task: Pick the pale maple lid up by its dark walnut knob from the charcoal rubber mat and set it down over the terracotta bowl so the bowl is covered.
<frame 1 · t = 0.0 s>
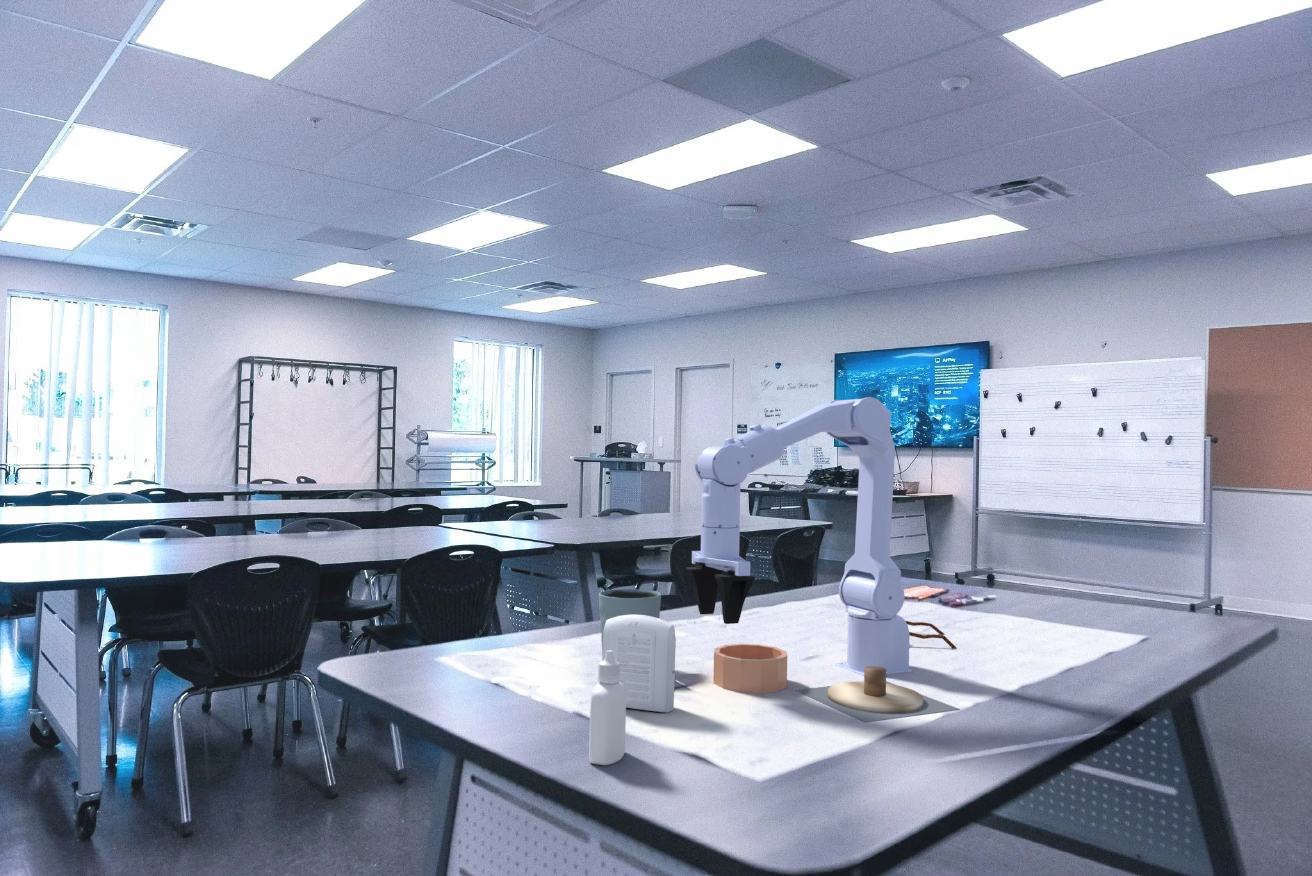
hand: (718, 618, 129), 10 cm above the table, fingers open, 7 cm apart
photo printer: (637, 708, 118), on the table
mat: (874, 702, 122), on the table
glasses: (915, 642, 166), on the table
bowl: (749, 685, 130), on the table
lid: (874, 699, 122), resting on mat
eye dropper bottle: (607, 759, 98), on the table
green plant pot: (628, 669, 139), on the table
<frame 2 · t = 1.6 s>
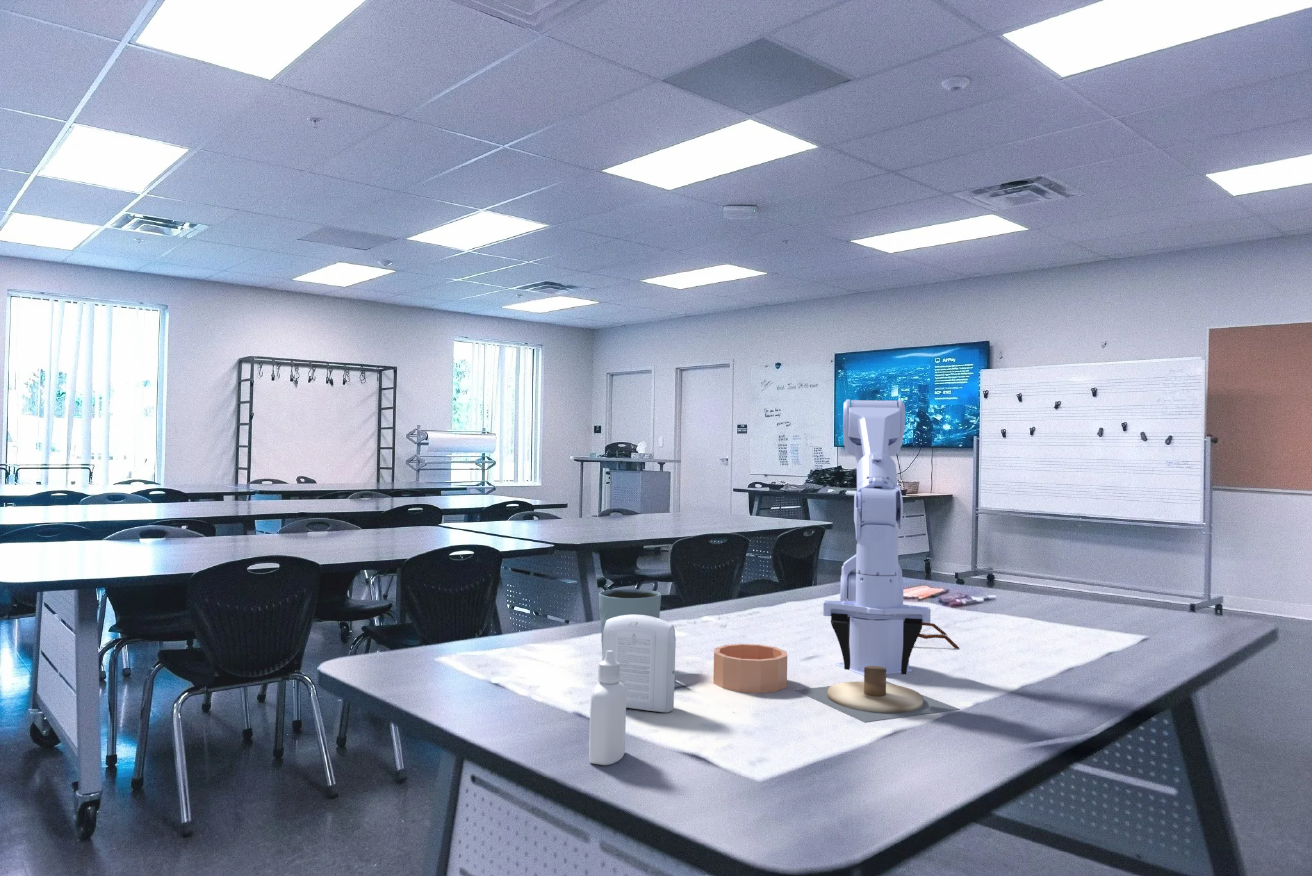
hand: (875, 670, 122), 5 cm above the table, fingers open, 7 cm apart
nothing on the table moved.
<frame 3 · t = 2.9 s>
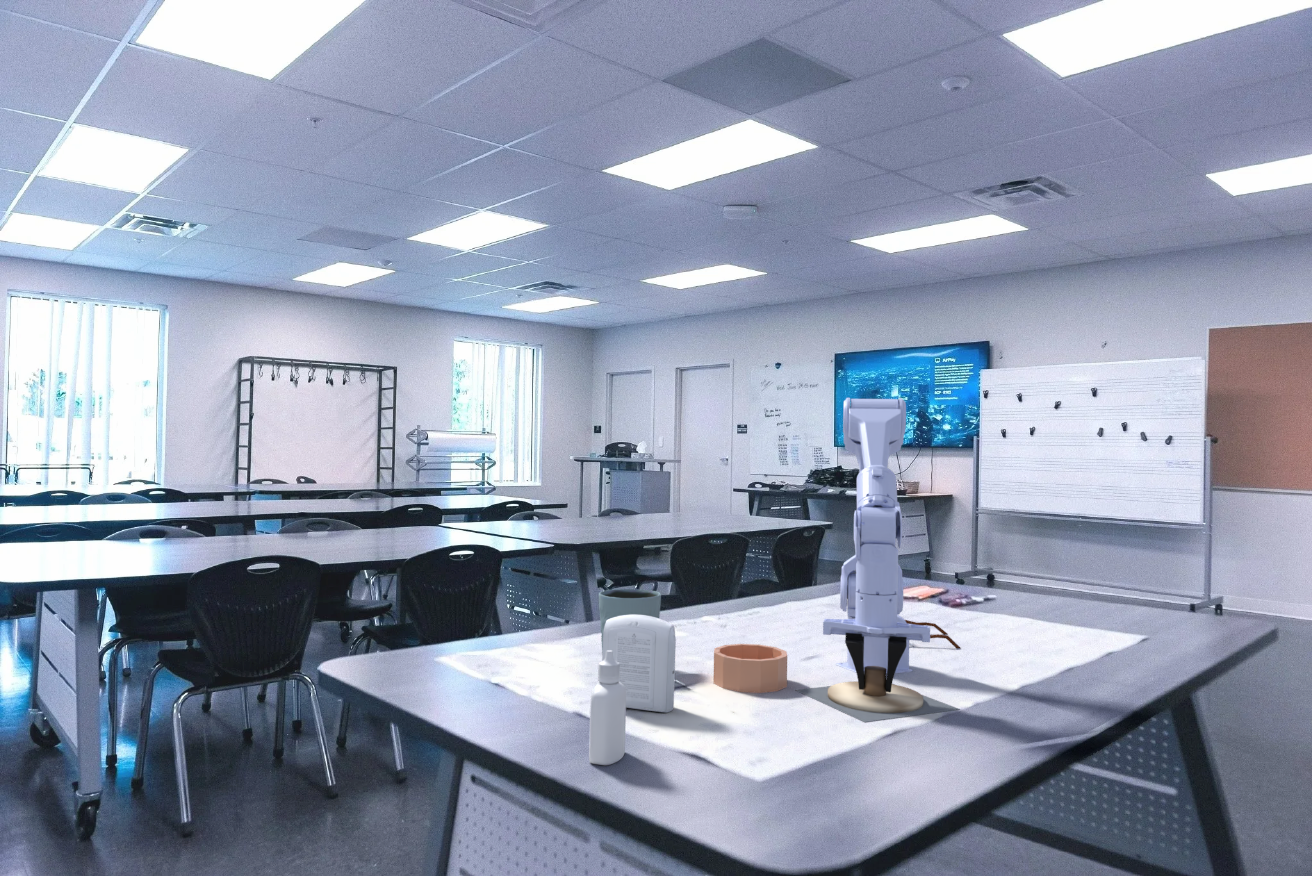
hand: (874, 689, 122), 2 cm above the table, fingers closed on lid, 3 cm apart
lid: (874, 699, 122), resting on mat, touching gripper
everything else where it was.
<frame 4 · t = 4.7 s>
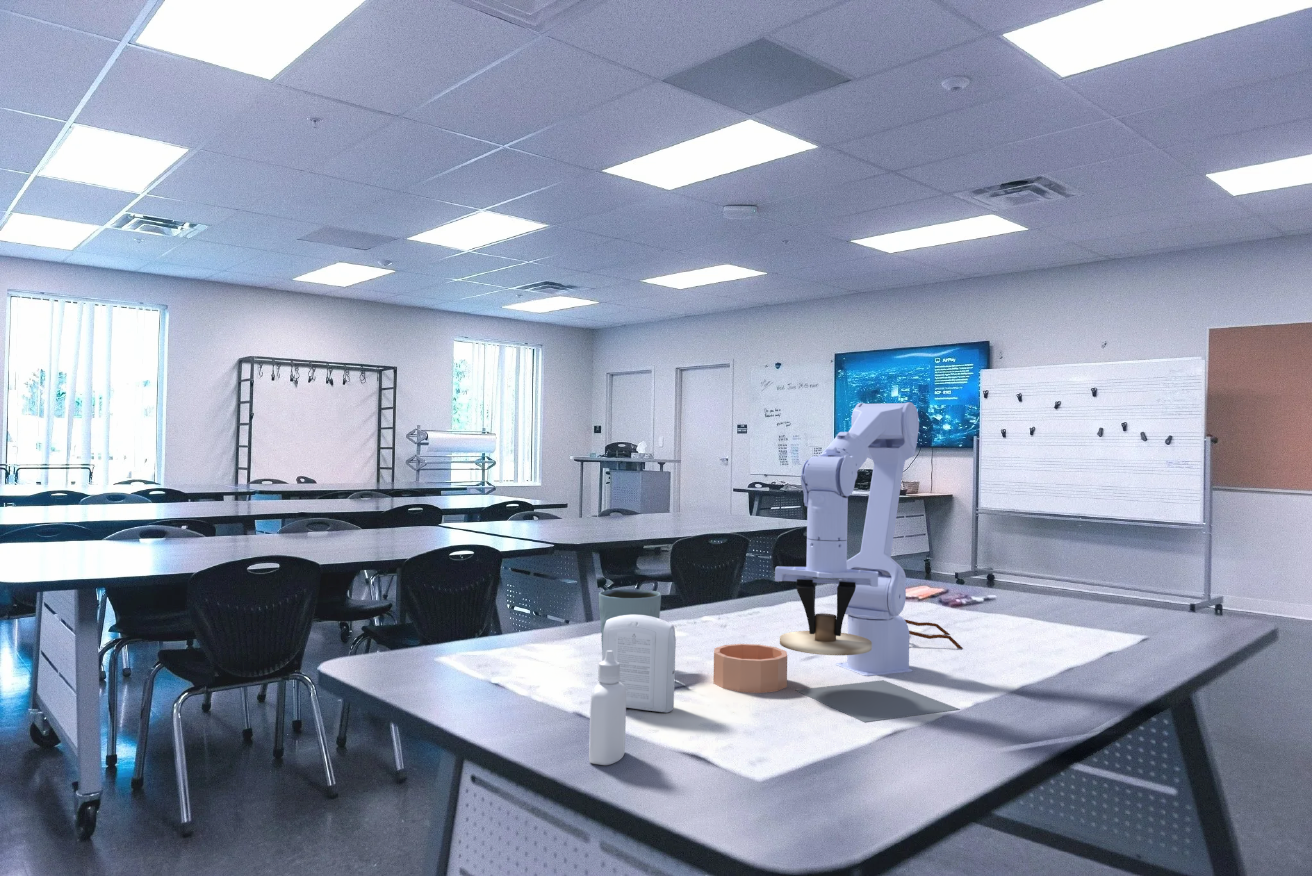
hand: (825, 633, 125), 9 cm above the table, fingers closed on lid, 3 cm apart
lid: (825, 645, 125), point 7 cm above the table, touching gripper
when the fingers open (8 cm above the table, at t = 6.4 s): lid drops 1 cm, resting on bowl.
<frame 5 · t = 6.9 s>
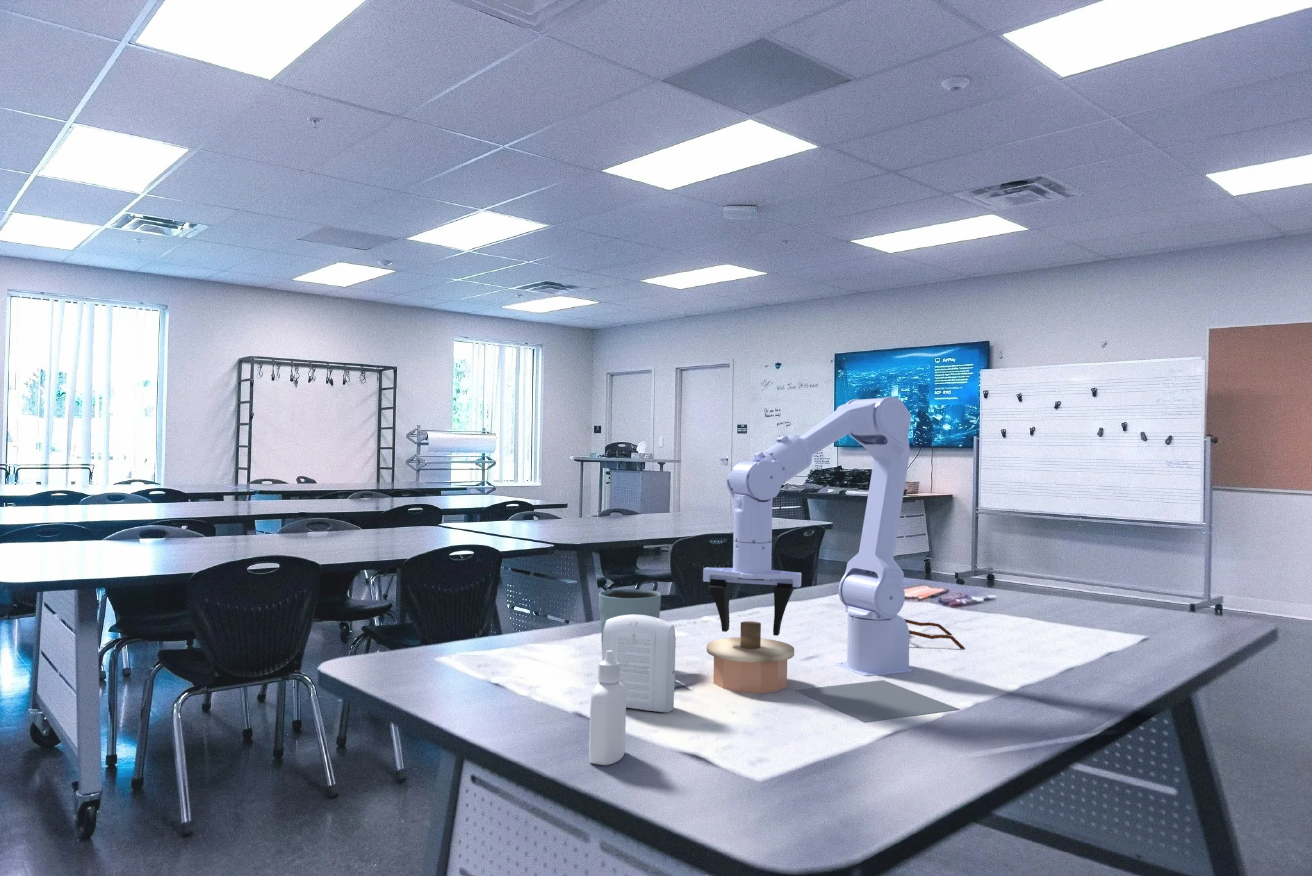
hand: (750, 632, 130), 8 cm above the table, fingers open, 7 cm apart
lid: (750, 652, 130), point 5 cm above the table, touching bowl
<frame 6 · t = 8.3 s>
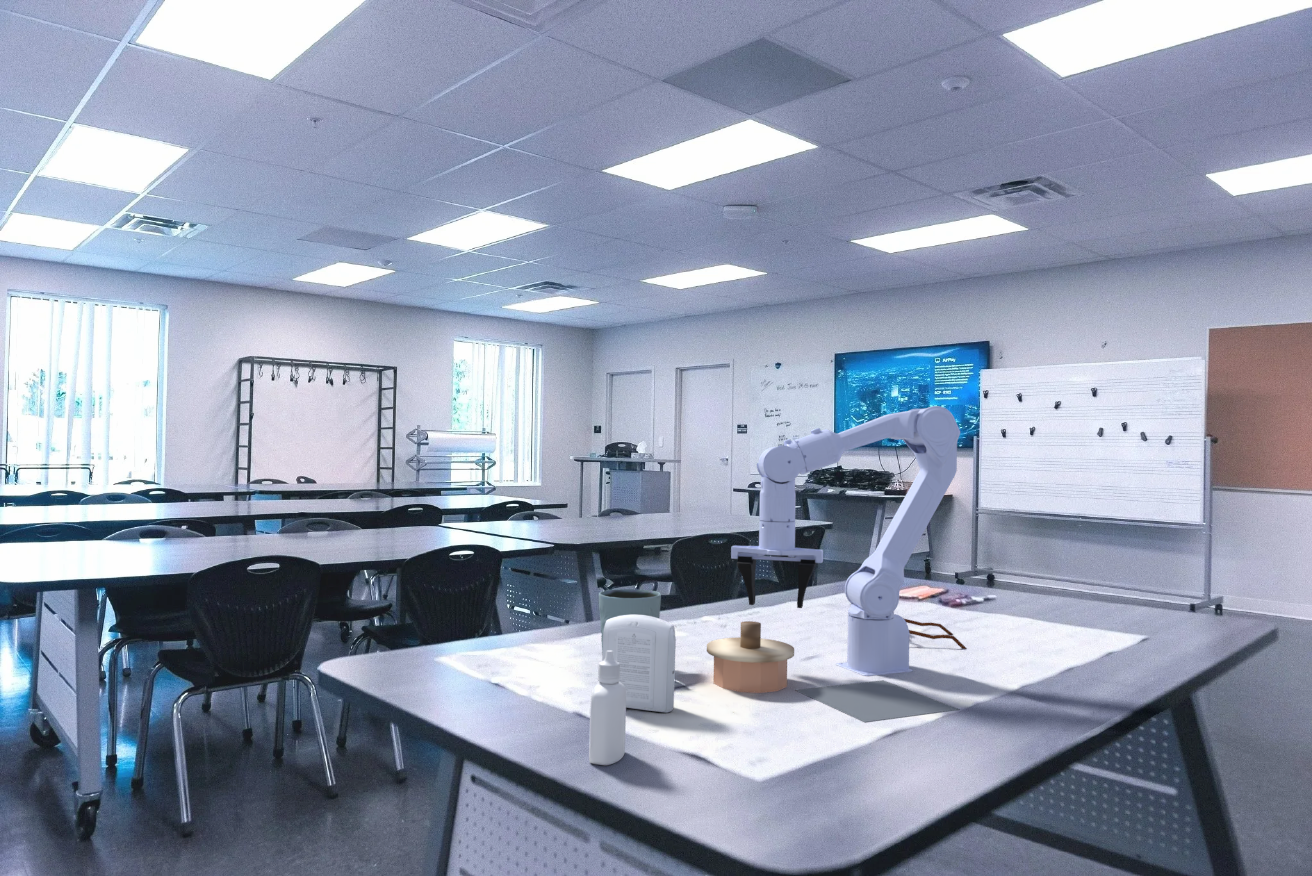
hand: (775, 605, 139), 10 cm above the table, fingers open, 7 cm apart
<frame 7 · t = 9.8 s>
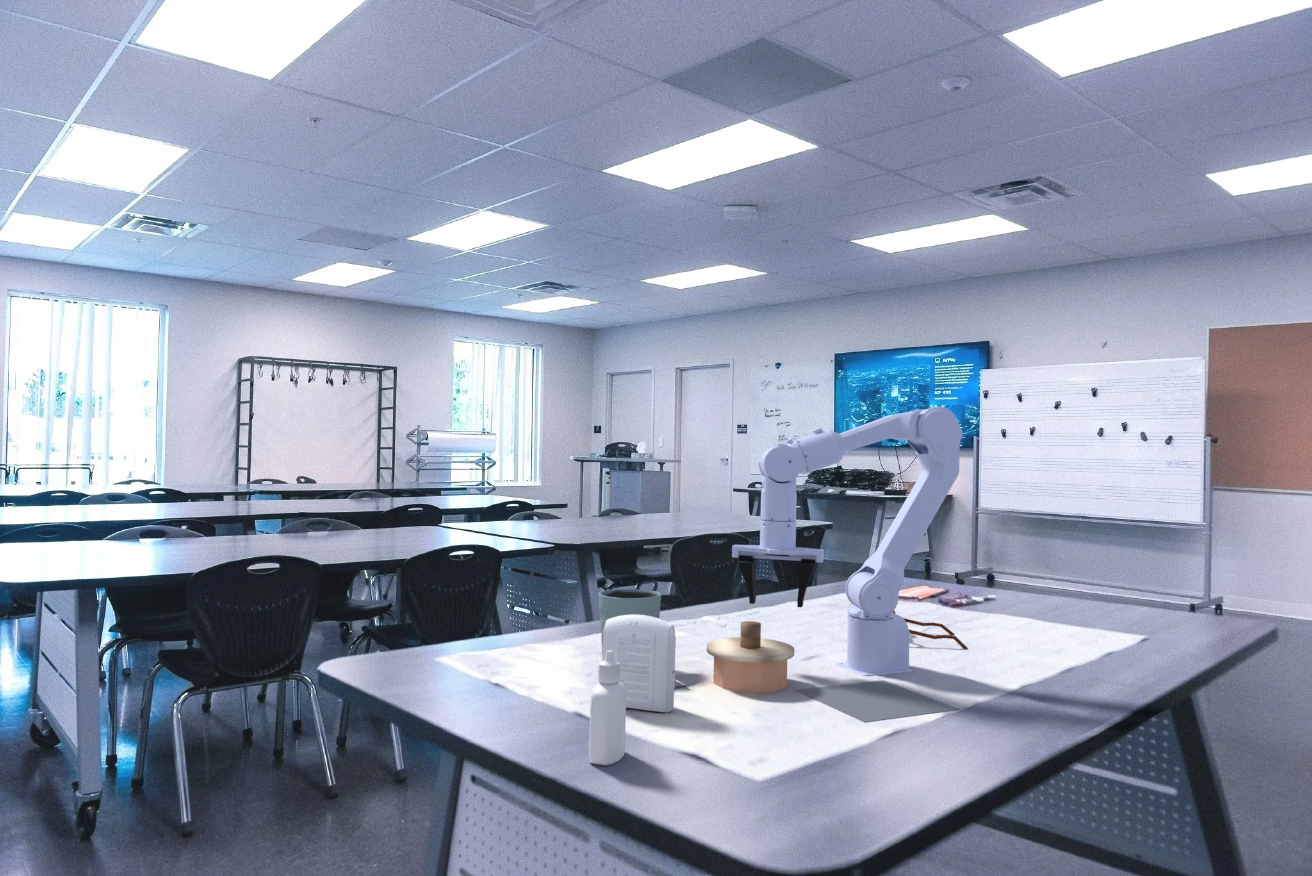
hand: (776, 604, 140), 10 cm above the table, fingers open, 7 cm apart
at the end: lid 0.1 cm off-centre on the bowl, point 5.0 cm above the bowl's base; lid tilted 0°; the gripper is holding nothing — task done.
